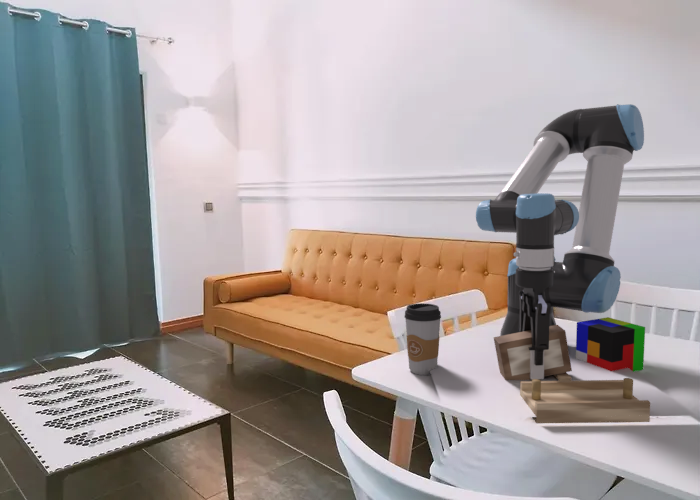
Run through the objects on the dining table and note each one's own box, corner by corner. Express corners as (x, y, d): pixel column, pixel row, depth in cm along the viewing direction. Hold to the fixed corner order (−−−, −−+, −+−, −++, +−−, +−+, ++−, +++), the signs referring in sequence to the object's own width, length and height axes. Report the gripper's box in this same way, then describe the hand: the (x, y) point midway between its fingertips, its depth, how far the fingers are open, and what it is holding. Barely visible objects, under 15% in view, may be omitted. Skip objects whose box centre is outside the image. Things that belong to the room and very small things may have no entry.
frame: (506, 383, 114) (498, 343, 113) (500, 376, 119) (493, 337, 117) (572, 371, 113) (565, 330, 112) (563, 363, 118) (557, 324, 117)
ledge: (519, 400, 106) (520, 371, 105) (622, 399, 106) (623, 370, 105) (536, 423, 96) (537, 391, 96) (649, 421, 96) (651, 389, 95)
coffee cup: (397, 371, 124) (396, 307, 122) (418, 362, 130) (418, 301, 128) (427, 379, 119) (427, 313, 117) (448, 369, 125) (448, 306, 123)
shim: (549, 376, 119) (549, 367, 119) (560, 376, 119) (560, 367, 119) (559, 386, 113) (559, 377, 113) (571, 386, 113) (571, 377, 113)
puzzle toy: (575, 363, 127) (576, 322, 126) (606, 357, 131) (608, 317, 130) (611, 377, 118) (612, 332, 117) (643, 370, 122) (645, 327, 121)
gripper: (505, 261, 122) (504, 360, 125) (529, 275, 104) (527, 390, 107) (538, 260, 122) (537, 359, 125) (568, 274, 104) (565, 389, 107)
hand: (532, 373), depth 116 cm, fingers closed on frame, 5 cm apart
